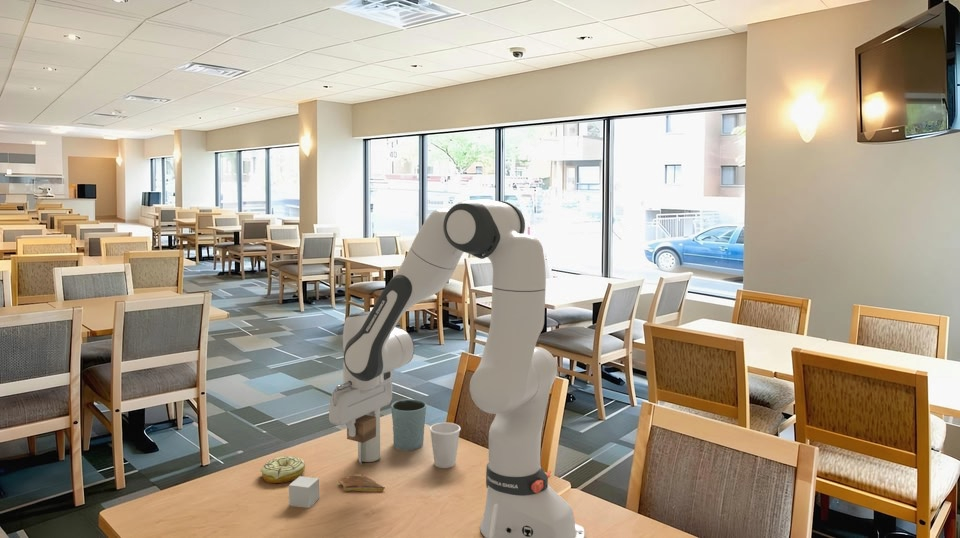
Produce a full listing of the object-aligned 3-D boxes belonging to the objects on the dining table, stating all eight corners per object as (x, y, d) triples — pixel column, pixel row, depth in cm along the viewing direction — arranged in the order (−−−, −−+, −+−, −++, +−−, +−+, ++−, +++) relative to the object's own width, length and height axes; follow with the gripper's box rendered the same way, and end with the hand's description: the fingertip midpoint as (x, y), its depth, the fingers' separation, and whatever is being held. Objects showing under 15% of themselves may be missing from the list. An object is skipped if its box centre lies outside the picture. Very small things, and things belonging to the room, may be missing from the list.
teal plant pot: (413, 435, 192) (413, 397, 191) (433, 445, 185) (433, 405, 183) (384, 443, 186) (384, 403, 185) (403, 454, 178) (403, 412, 177)
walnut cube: (376, 436, 159) (376, 417, 159) (363, 443, 155) (363, 423, 154) (360, 432, 161) (360, 413, 161) (347, 439, 157) (346, 419, 157)
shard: (385, 493, 156) (385, 486, 156) (358, 503, 151) (358, 495, 150) (361, 478, 164) (361, 471, 164) (334, 487, 159) (334, 480, 158)
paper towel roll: (373, 452, 180) (372, 377, 177) (384, 459, 175) (383, 382, 173) (350, 458, 175) (349, 382, 173) (360, 465, 170) (360, 387, 168)
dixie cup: (423, 461, 174) (423, 425, 172) (450, 455, 178) (450, 420, 177) (439, 472, 167) (439, 435, 166) (466, 465, 171) (466, 429, 170)
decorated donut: (252, 477, 163) (252, 463, 163) (288, 464, 172) (287, 450, 171) (277, 489, 157) (277, 474, 156) (313, 474, 165) (312, 460, 165)
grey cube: (319, 498, 152) (318, 478, 151) (308, 508, 147) (308, 487, 146) (300, 496, 153) (299, 476, 152) (289, 505, 148) (288, 485, 148)
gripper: (343, 389, 146) (343, 448, 147) (396, 369, 164) (396, 421, 165) (322, 385, 149) (322, 442, 150) (376, 365, 167) (376, 417, 168)
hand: (361, 431), depth 158 cm, fingers closed on walnut cube, 5 cm apart
